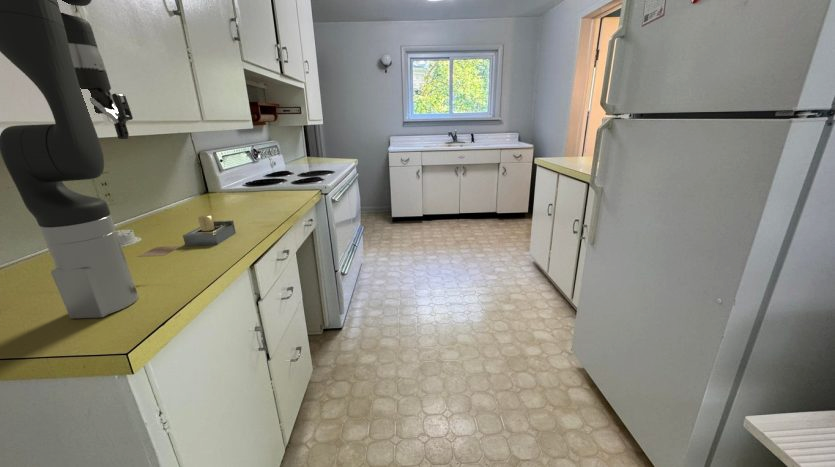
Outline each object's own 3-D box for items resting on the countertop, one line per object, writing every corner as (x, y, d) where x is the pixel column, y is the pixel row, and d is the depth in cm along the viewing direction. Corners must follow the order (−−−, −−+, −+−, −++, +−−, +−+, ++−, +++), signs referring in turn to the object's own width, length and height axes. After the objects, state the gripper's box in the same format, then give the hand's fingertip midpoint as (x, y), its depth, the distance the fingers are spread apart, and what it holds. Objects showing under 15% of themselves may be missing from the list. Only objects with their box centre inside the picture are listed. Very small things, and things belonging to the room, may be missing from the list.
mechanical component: (94, 249, 98) (103, 256, 92) (89, 234, 97) (97, 241, 91) (136, 239, 105) (147, 245, 100) (132, 225, 104) (142, 231, 98)
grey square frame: (218, 247, 94) (214, 230, 93) (186, 249, 94) (181, 232, 93) (236, 236, 104) (233, 220, 102) (207, 237, 104) (203, 221, 102)
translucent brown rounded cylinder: (213, 244, 97) (207, 217, 95) (202, 245, 97) (195, 218, 95) (220, 240, 100) (214, 214, 98) (209, 241, 100) (202, 215, 98)
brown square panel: (165, 259, 88) (164, 255, 87) (138, 260, 88) (137, 256, 88) (182, 249, 94) (181, 245, 94) (157, 250, 94) (156, 246, 94)
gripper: (37, 67, 76) (64, 141, 82) (99, 64, 76) (122, 139, 81) (70, 71, 84) (93, 139, 89) (127, 69, 83) (146, 137, 88)
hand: (107, 139), depth 85 cm, fingers open, 8 cm apart
